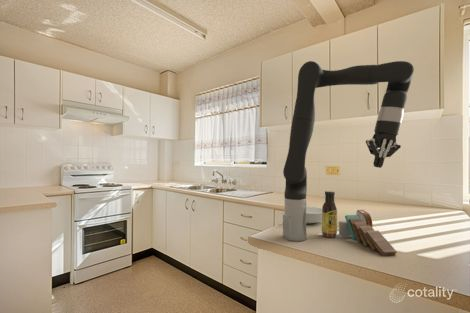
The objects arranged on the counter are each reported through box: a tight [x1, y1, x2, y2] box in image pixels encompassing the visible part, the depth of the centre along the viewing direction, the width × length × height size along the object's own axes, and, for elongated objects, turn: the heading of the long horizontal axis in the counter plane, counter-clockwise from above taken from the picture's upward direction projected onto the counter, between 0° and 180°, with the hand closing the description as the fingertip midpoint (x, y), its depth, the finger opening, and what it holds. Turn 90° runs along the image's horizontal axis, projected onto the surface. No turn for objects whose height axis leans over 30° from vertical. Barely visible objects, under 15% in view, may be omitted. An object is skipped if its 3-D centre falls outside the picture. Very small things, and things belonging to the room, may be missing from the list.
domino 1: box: [344, 214, 358, 240], centre depth 99 cm, size 2×5×10 cm
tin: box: [355, 209, 373, 228], centre depth 113 cm, size 15×3×8 cm, turn 168°
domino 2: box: [348, 218, 363, 243], centre depth 96 cm, size 2×5×10 cm
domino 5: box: [365, 230, 398, 256], centre depth 85 cm, size 2×5×10 cm
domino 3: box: [353, 222, 370, 247], centre depth 93 cm, size 2×5×10 cm
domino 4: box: [359, 226, 378, 251], centre depth 89 cm, size 2×5×10 cm
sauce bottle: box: [321, 190, 338, 238], centre depth 102 cm, size 6×6×20 cm
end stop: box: [338, 220, 352, 237], centre depth 103 cm, size 3×9×6 cm, turn 97°
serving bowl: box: [306, 205, 322, 225], centre depth 126 cm, size 21×21×7 cm
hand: (377, 167), depth 85 cm, fingers closed
